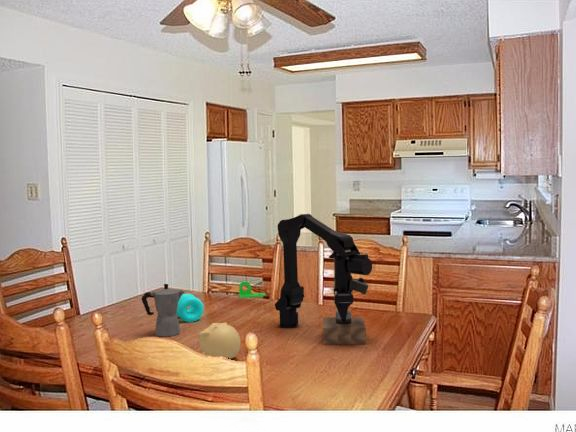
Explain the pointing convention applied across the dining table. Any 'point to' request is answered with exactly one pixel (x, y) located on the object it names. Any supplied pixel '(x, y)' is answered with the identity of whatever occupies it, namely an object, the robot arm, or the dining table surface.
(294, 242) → the robot arm
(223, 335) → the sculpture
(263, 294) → the mechanical part
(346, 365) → the dining table surface
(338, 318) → the steel pin
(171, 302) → the coffeepot
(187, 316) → the donuts
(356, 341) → the block
